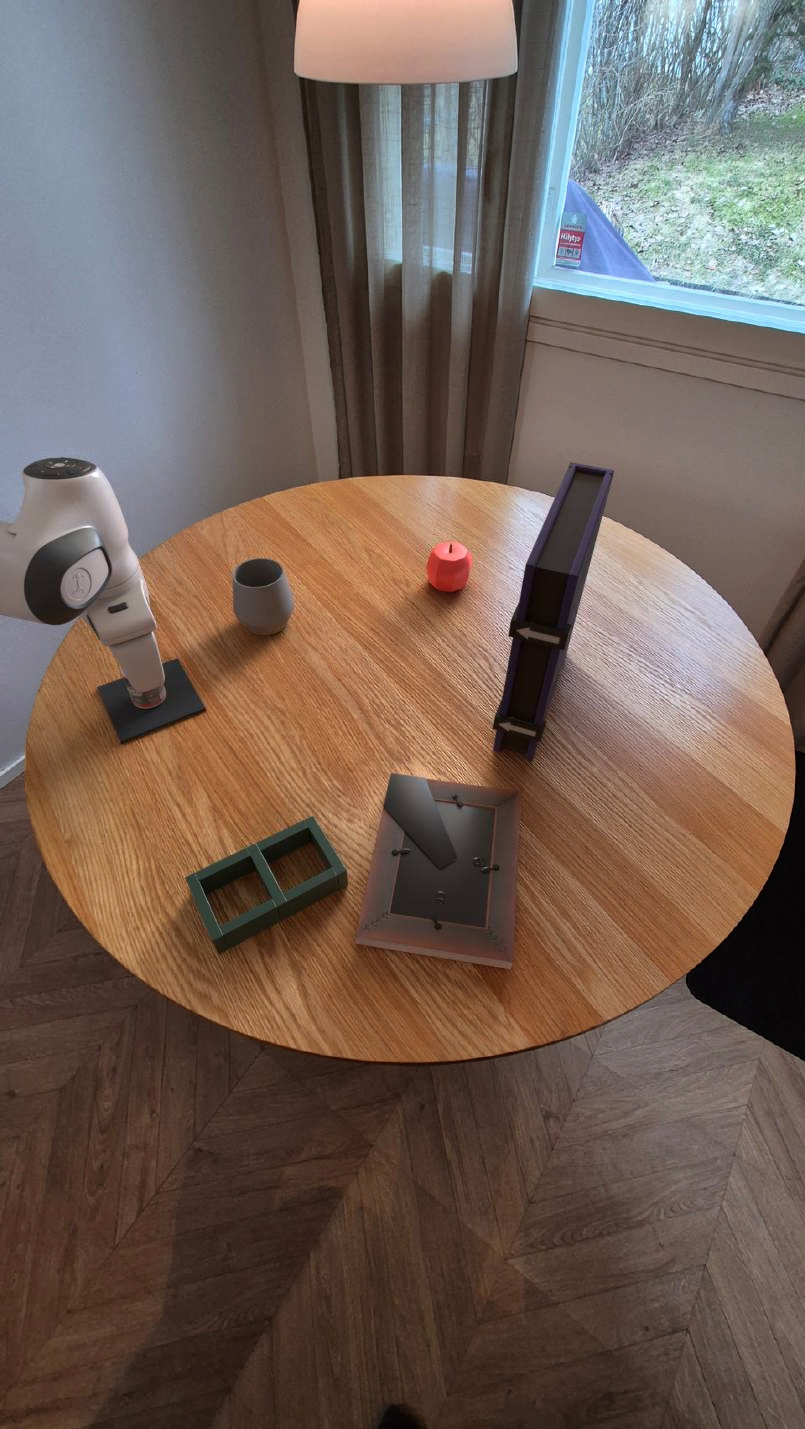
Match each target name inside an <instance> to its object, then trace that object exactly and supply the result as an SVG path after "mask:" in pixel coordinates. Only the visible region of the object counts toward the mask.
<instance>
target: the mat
mask: <svg viewBox="0 0 805 1429" xmlns="http://www.w3.org/2000/svg"><path fill="white" fill-rule="evenodd" d="M162 666H163V671H164V676H165V681H164V687H165V689H166V698H165V700H164V701H163V702H162V703H161V704H159V705H158V706H155V707H153V708H148V709H143V708H139V707H137V706H135V705H134V704H133V702H132V700H131V697H130V694H129V692H128V689H127V687H126V684H125V682H124V679H123V677H120V678H118V679H115V680H112V681H110V682H107V683H104V684H102V685H98V686H97V687H96V689H97V691H98V693H99V696H100V698H101V701H102V703H103V705H104V707H105V710H106V712H107V714H108V717H109V719H110V722H111V724H112V727H113V730H114V732H115V733H116V737H117V738H118V741H119V744H120V745H122V744H125V743H128V742H130V741H133V740H135V739H138V738H140V737H143V736H145V735H148V734H151V733H153V732H156V731H158V730H161V729H163V728H166V727H168V726H171V725H173V724H176V723H178V722H181V721H183V720H184V721H185V720H186V719H188V718H191V717H194V716H196V715H199V714H201V713H205V712H207V708H206V706H205V704H204V703H203V701H202V699H201V697H200V695H199V693H198V692H197V690H196V689H195V687H194V685H193V683H192V681H191V679H190V677H189V676H188V674H187V672H186V670H185V669H184V667H183V665H182V663H181V662H180V660H179V658H178V657H176V658H174V659H171V660H168V661H165V662H163V663H162Z"/></svg>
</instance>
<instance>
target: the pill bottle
mask: <svg viewBox="0 0 805 1429" xmlns="http://www.w3.org/2000/svg"><path fill="white" fill-rule="evenodd" d="M119 667H120V666H119ZM119 669H120V674H121V678H123V679H124V682H125V684H126V687H127V689H128V692H129V694H130V697H131V700H132V702H133V704H134V705H135V706H137V707H139V708H143V709H148V708H153V707H155V706H158V705H159V704H161V703H162V702H163V701H164V700H165V698H166V689H165V687H164V684H163V685H161V686H159V687H157V688H154V689H152V690H149V691H146V692H143V693H138V692H136V691H135V690H134V688H133V687H132V686H131V684H130V682H129V681H128V679H127V677H126V676H125V674H124V672H123V671H122V669H121V667H120V668H119Z"/></svg>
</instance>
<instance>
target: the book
mask: <svg viewBox="0 0 805 1429" xmlns="http://www.w3.org/2000/svg"><path fill="white" fill-rule="evenodd" d="M614 476H615V470H614V469H609V468H605V467H599V466H593V465H588V464H582V463H578V462H577V463H576V462H570V463H569V465H568V467H567V469H566V471H565V474H564V476H563V479H562V481H561V483H560V485H559V488H558V490H557V491H556V494H555V496H554V499H553V501H552V503H551V506H550V507H549V511H548V513H547V515H546V517H545V519H544V522H543V524H542V526H541V529H540V531H539V533H538V535H537V538H536V540H535V542H534V543H533V544H534V545H533V546H532V549H531V551H530V554H529V555H528V558H527V561H526V563H525V564H524V571H523V577H522V584H521V589H520V593H519V600H518V603H517V604H516V607H515V609H514V611H513V613H512V617H511V619H510V621H509V622H510V623H509V630H508V635H507V636H508V638H512V640H511V644H510V645H511V646H510V652H509V657H508V663H507V668H506V674H505V680H504V684H503V692H502V697H501V700H500V702H499V705H498V707H497V709H496V712H495V714H494V718H493V722H492V723H493V724H492V730H495V737H494V743H493V749H492V751H493V752H494V753H497V754H499V753H500V752H501V750H502V748H505V749H509V750H513V751H517V752H520V753H524V754H526V756H525V761H526V762H528V763H532V762H533V760H534V757H535V754H536V752H537V749H538V744H539V743H541V742H542V740H543V736H544V732H545V729H546V726H547V716H548V714H549V710H550V707H551V704H552V701H553V697H554V695H555V692H556V688H557V685H558V682H559V679H560V675H561V672H562V669H563V666H564V663H565V659H566V657H567V654H568V650H569V646H570V642H571V638H572V634H573V631H574V628H575V624H576V620H577V616H578V612H579V608H580V604H581V600H582V596H583V593H584V589H585V585H586V581H587V578H588V574H589V569H590V566H591V562H592V558H593V554H594V550H595V548H596V544H597V539H598V536H599V531H600V528H601V524H602V520H603V516H604V512H605V508H606V505H607V501H608V497H609V493H610V490H611V486H612V481H613V478H614Z"/></svg>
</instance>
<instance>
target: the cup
mask: <svg viewBox="0 0 805 1429" xmlns="http://www.w3.org/2000/svg"><path fill="white" fill-rule="evenodd" d="M232 610H233V613H234V615H235V617H236V618H237V620H238V621H239V622H240V623H241V624H242V625H243V626H244V627H245V628H246V629H247V630H248V631H249V632H251V633H253V634H255V635H258V636H272V635H275V634H277V633H279V632H282V631H283V629H285V628H286V626H287V625H288V622H289V620H290V619H291V616H292V615H293V611H294V610H295V598H294V595H293V593H292V589H291V587H290V584H289V581H288V578H287V575H286V573H285V570H284V567H283V566H282V565H281V563H279V562H278V561H276V560H275V559H272V558H266V557H256V558H251V559H247V560H245V561H243V562H241V563H239V564H238V565H237V566H235V568H234V570H233V571H232Z"/></svg>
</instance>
